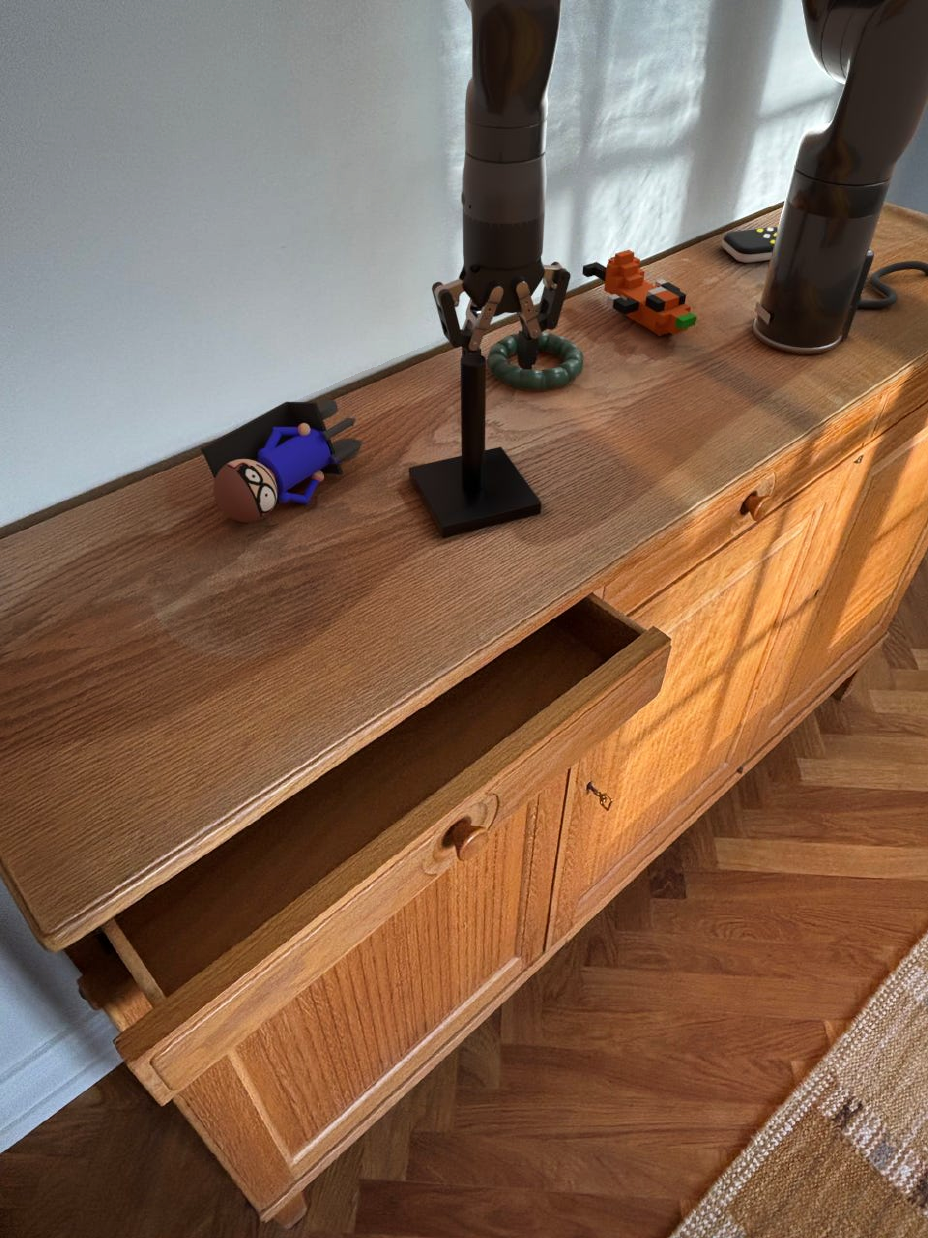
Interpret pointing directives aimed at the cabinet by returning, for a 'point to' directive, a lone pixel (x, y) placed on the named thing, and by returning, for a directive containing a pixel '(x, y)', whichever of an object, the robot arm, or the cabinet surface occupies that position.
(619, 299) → the toy
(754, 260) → the remote control
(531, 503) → the post
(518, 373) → the ring
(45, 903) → the cabinet surface
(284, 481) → the character figurine
